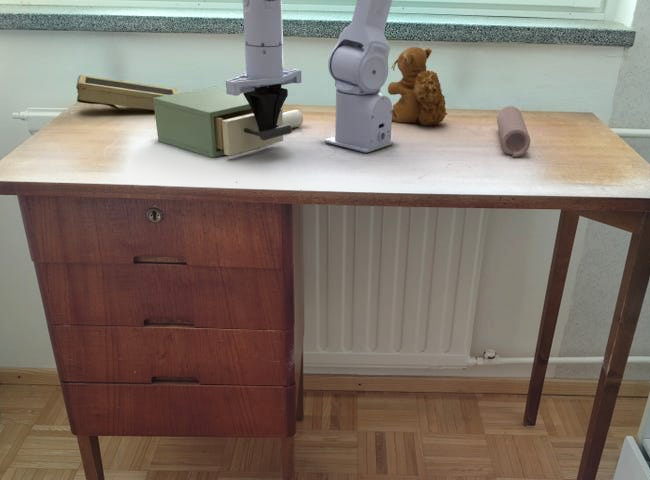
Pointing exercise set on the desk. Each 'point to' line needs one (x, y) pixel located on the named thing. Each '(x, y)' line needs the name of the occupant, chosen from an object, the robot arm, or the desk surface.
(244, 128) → the drawer
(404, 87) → the stuffed squirrel
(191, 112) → the box
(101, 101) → the box
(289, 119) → the glue stick
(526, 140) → the grey hollow tube piece
